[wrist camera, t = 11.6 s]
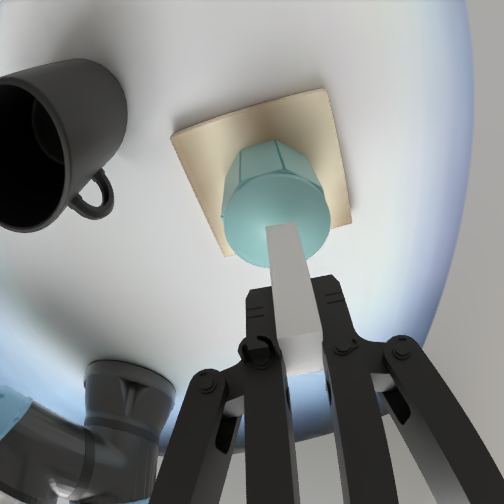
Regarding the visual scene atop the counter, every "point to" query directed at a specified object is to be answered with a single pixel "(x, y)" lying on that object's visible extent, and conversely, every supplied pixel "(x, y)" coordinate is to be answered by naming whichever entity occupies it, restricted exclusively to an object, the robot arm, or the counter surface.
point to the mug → (57, 141)
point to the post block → (256, 132)
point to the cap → (272, 200)
